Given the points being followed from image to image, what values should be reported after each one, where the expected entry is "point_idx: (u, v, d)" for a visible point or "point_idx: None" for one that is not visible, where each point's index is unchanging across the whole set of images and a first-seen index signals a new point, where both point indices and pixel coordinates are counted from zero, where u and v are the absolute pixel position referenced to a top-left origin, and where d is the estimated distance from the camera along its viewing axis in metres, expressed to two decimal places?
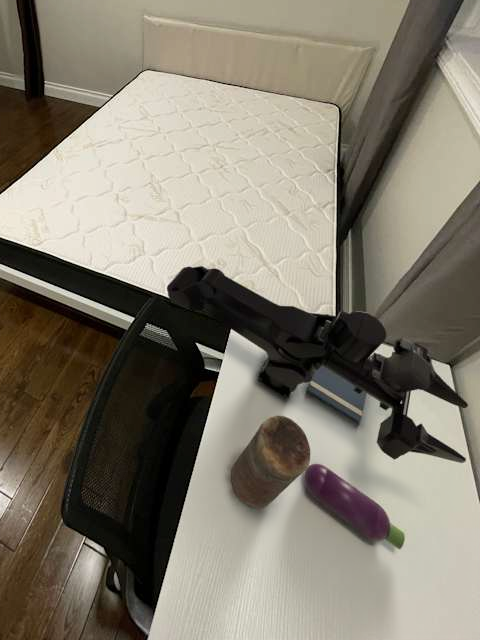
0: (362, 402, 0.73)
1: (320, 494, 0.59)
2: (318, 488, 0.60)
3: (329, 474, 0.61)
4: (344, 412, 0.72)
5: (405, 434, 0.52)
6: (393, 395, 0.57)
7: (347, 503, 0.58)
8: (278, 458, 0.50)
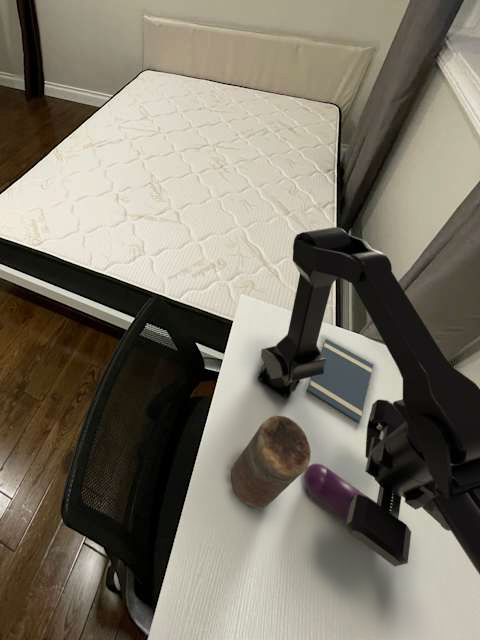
0: (362, 402, 0.73)
1: (320, 494, 0.59)
2: (318, 488, 0.60)
3: (329, 474, 0.61)
4: (344, 412, 0.72)
5: None
6: (412, 502, 0.46)
7: (347, 503, 0.58)
8: (278, 458, 0.50)
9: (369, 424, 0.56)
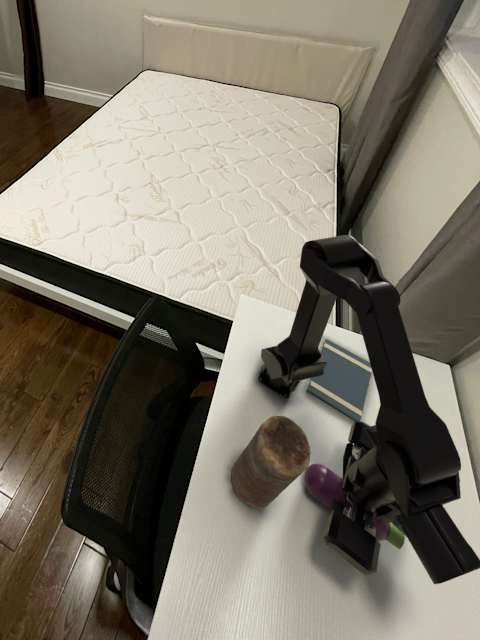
0: (362, 402, 0.73)
1: (320, 494, 0.59)
2: (318, 488, 0.60)
3: (329, 474, 0.61)
4: (344, 412, 0.72)
5: None
6: (382, 518, 0.51)
7: (347, 503, 0.58)
8: (278, 458, 0.50)
9: (345, 455, 0.60)
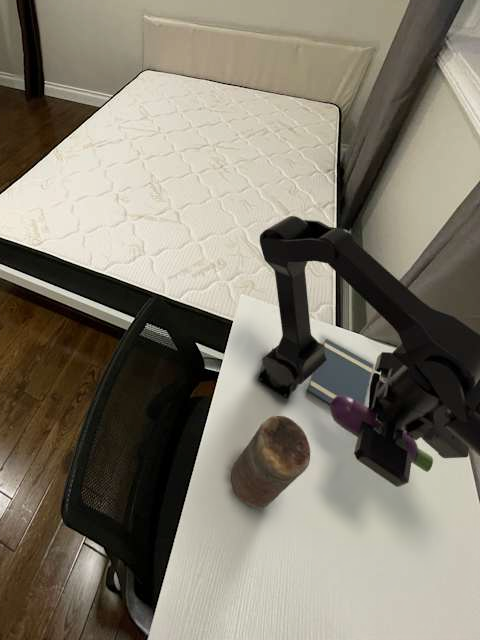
0: (362, 402, 0.73)
1: (347, 421, 0.60)
2: (345, 415, 0.60)
3: (356, 403, 0.61)
4: None
5: None
6: (413, 433, 0.51)
7: None
8: (278, 458, 0.50)
9: (372, 383, 0.60)
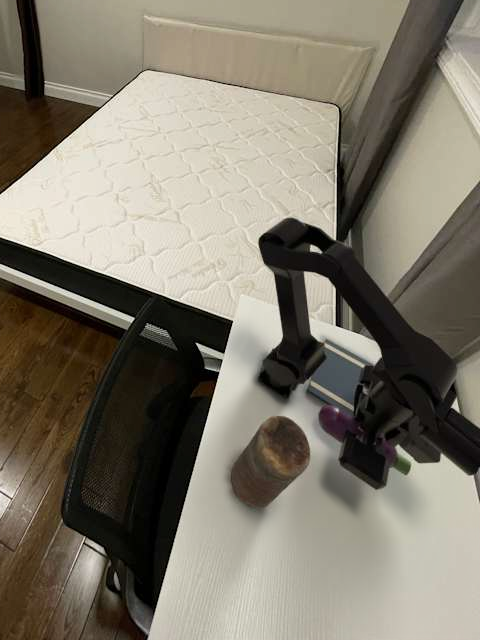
0: None
1: (333, 429, 0.65)
2: (331, 424, 0.65)
3: (341, 412, 0.66)
4: None
5: None
6: (391, 441, 0.57)
7: None
8: (278, 458, 0.50)
9: (356, 394, 0.66)
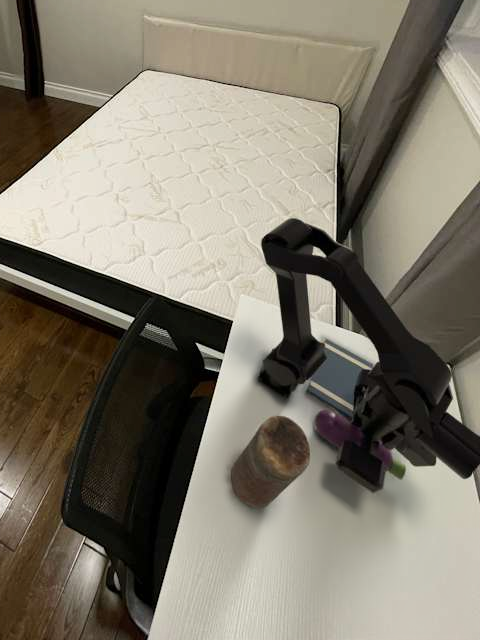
0: None
1: (329, 434, 0.66)
2: (327, 429, 0.66)
3: (337, 418, 0.67)
4: (344, 412, 0.72)
5: None
6: (387, 445, 0.58)
7: (354, 441, 0.65)
8: (278, 458, 0.50)
9: (355, 389, 0.68)
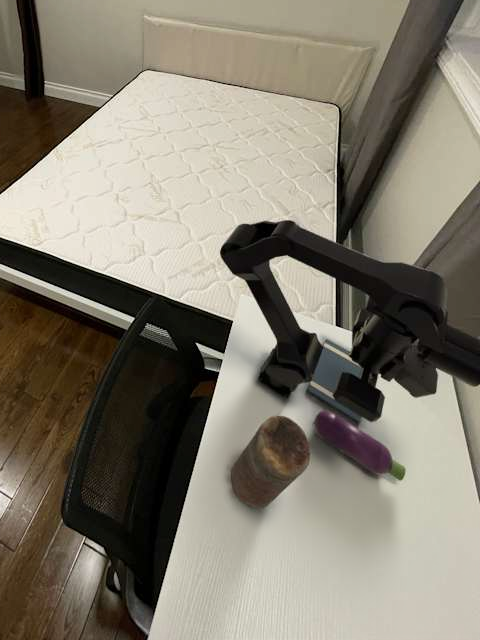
0: None
1: (328, 436, 0.66)
2: (326, 432, 0.66)
3: (337, 420, 0.67)
4: (344, 412, 0.72)
5: None
6: (386, 375, 0.56)
7: (353, 444, 0.64)
8: (278, 458, 0.50)
9: (354, 329, 0.66)
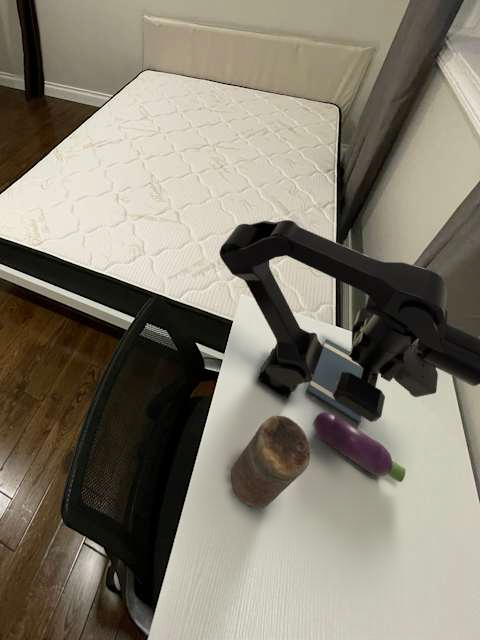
0: None
1: (327, 438, 0.66)
2: (325, 434, 0.66)
3: (336, 422, 0.66)
4: (344, 412, 0.72)
5: None
6: (386, 375, 0.56)
7: (352, 446, 0.64)
8: (278, 458, 0.50)
9: (354, 328, 0.66)
